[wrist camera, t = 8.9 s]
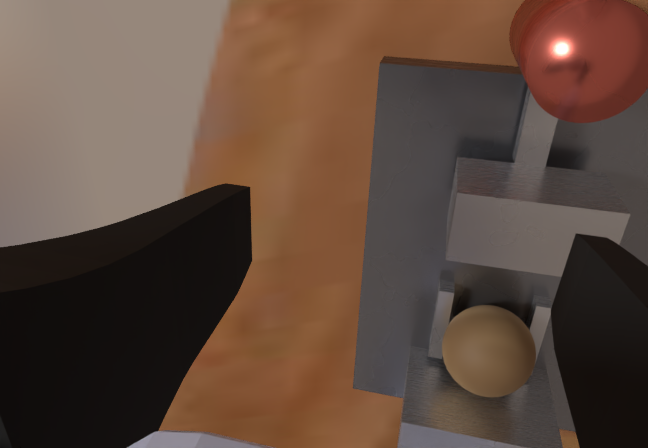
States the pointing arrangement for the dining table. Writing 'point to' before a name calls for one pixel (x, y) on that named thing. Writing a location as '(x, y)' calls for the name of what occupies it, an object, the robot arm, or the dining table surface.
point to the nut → (488, 351)
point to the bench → (463, 278)
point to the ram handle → (537, 134)
